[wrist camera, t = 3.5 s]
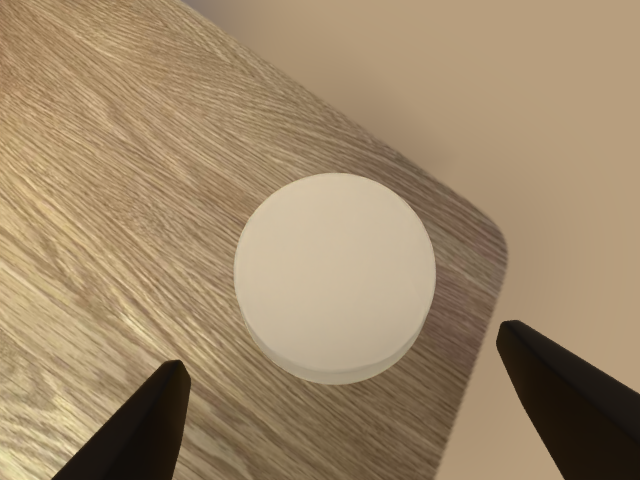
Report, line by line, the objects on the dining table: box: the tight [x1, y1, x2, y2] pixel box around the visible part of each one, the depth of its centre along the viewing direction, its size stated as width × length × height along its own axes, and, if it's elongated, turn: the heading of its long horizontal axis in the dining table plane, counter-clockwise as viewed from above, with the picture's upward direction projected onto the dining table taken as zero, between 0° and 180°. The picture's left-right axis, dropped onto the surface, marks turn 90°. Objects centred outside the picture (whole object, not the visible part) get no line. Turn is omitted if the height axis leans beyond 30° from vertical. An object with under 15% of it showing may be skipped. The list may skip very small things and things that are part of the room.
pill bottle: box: [234, 173, 436, 385], centre depth 13 cm, size 6×6×12 cm
